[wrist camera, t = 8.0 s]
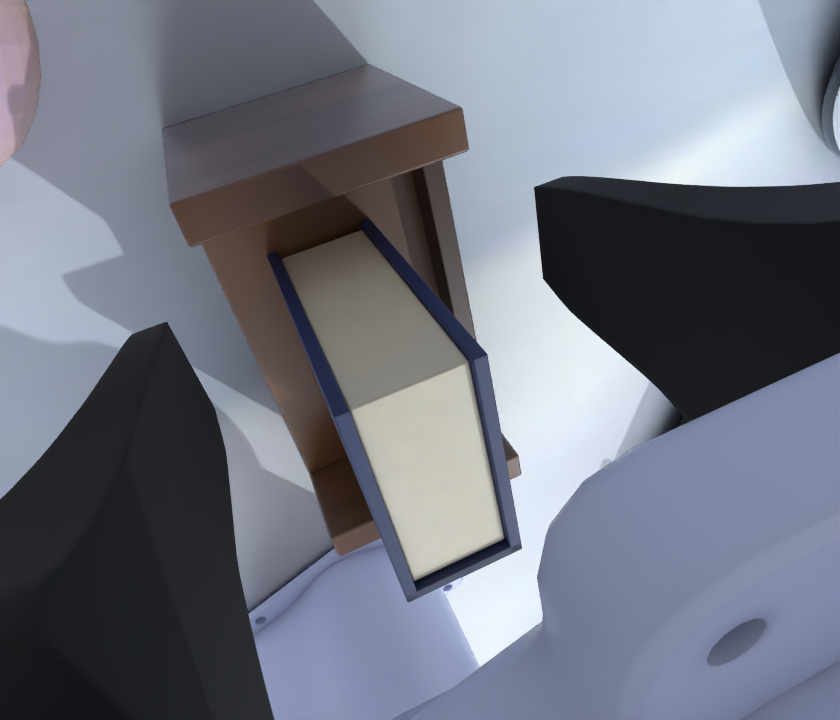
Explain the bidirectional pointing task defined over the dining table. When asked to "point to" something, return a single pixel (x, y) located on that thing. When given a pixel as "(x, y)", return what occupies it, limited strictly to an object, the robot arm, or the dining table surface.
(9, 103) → the decorative fruit
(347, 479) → the shelf
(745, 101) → the dining table surface
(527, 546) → the dining table surface
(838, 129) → the spread jar
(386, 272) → the book
